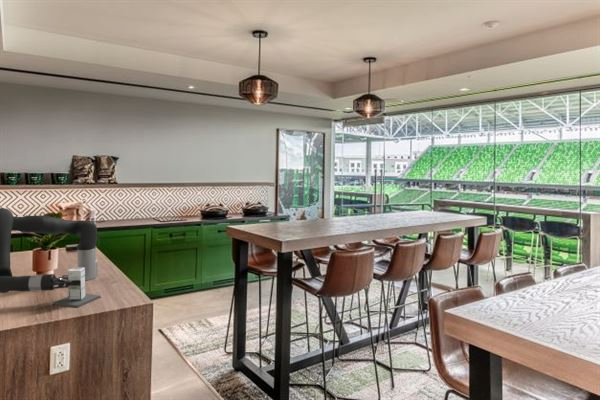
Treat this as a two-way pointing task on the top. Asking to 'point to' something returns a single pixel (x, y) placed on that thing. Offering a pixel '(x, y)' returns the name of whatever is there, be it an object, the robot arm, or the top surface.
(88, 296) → the charcoal mat
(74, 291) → the syrup box
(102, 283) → the top surface
